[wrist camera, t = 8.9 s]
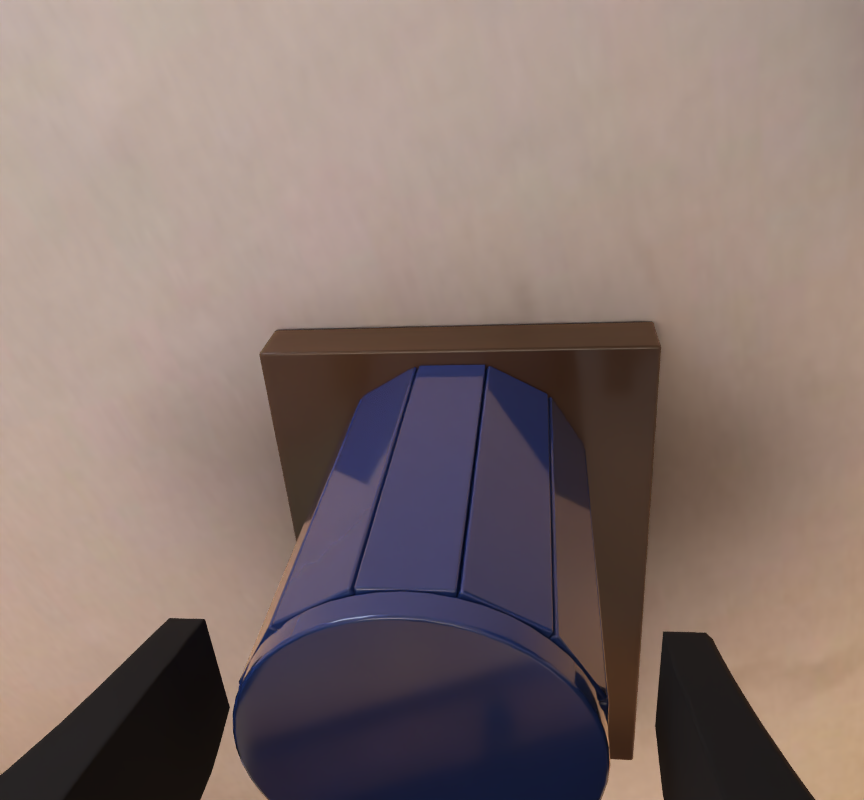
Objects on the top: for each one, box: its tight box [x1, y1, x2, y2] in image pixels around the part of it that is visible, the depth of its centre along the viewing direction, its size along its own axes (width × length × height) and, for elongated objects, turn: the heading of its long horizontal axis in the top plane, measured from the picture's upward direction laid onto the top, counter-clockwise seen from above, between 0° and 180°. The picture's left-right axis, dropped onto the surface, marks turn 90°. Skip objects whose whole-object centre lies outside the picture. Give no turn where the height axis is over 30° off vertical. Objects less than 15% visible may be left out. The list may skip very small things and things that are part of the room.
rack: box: [260, 322, 661, 760], centre depth 17 cm, size 12×8×6 cm, turn 4°
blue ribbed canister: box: [233, 365, 610, 800], centre depth 14 cm, size 5×5×7 cm
